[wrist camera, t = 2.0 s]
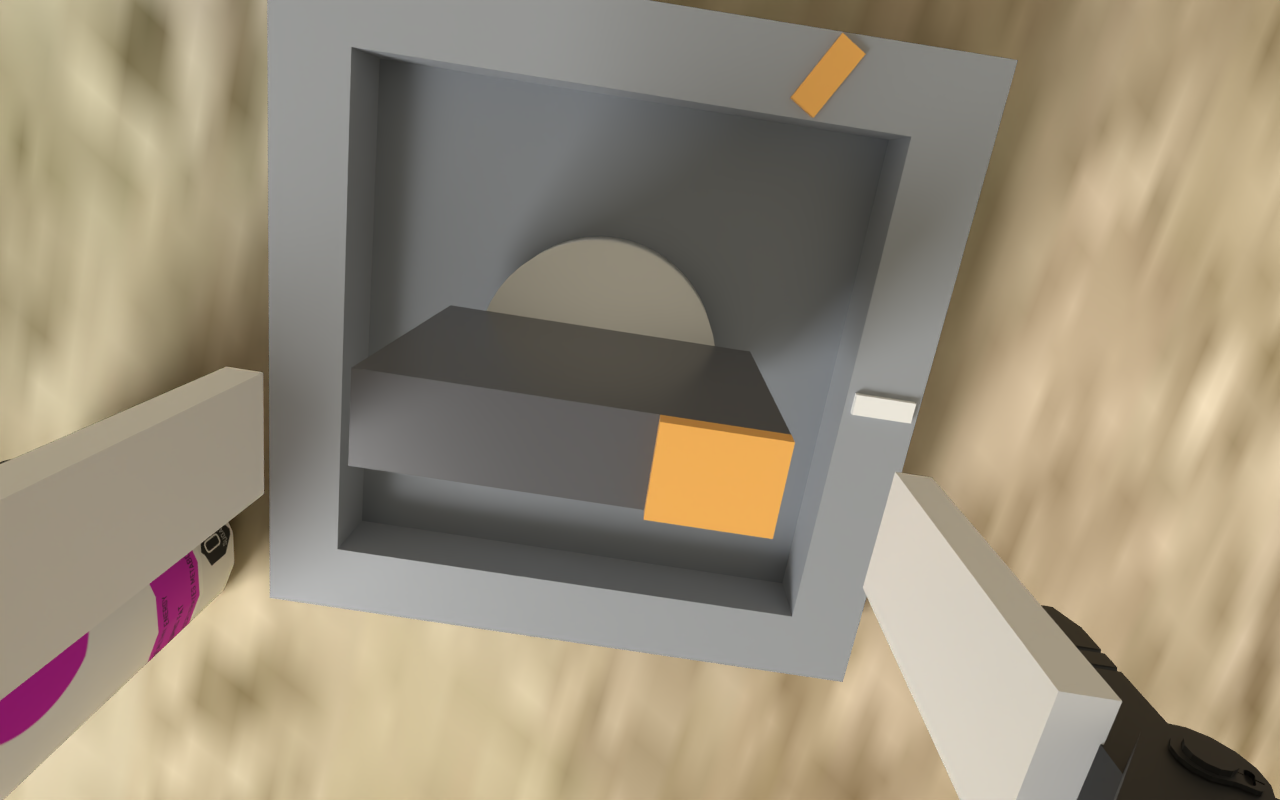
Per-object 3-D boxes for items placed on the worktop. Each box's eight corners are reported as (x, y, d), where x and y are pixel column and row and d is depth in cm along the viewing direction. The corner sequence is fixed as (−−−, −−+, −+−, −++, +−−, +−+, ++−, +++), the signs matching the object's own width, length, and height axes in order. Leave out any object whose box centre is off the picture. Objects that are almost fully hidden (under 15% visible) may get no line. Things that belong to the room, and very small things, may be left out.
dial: (455, 431, 27) (336, 580, 17) (472, 215, 25) (345, 243, 15) (717, 470, 28) (749, 641, 18) (759, 260, 25) (823, 317, 15)
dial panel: (312, 551, 31) (266, 601, 27) (321, -30, 24) (262, -65, 21) (823, 627, 31) (844, 686, 28) (969, 75, 25) (1021, 58, 21)
